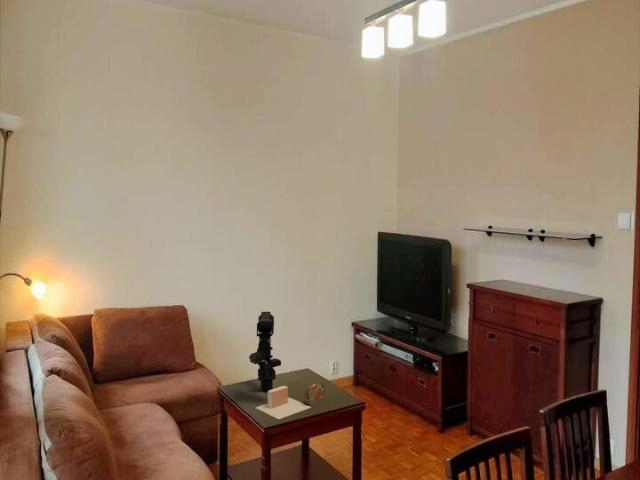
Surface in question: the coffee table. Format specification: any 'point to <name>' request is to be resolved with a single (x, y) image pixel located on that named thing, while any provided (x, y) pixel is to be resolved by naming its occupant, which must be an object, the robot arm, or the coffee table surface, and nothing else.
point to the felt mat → (284, 409)
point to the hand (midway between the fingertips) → (265, 376)
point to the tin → (314, 393)
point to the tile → (277, 397)
